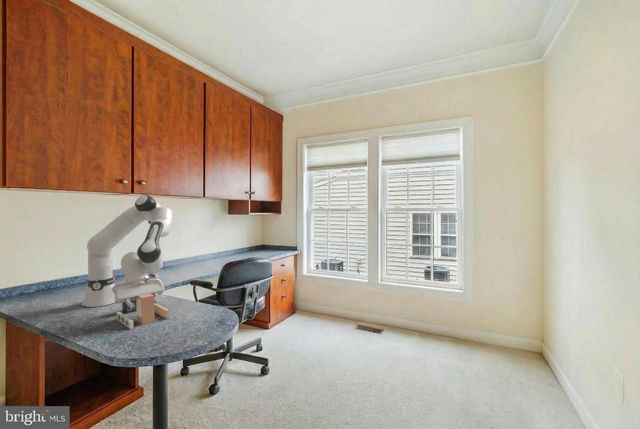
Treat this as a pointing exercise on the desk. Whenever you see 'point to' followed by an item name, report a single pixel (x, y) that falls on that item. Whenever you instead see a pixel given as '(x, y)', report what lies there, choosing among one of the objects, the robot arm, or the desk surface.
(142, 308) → the carton
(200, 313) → the desk surface
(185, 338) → the desk surface
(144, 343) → the desk surface
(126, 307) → the small box
